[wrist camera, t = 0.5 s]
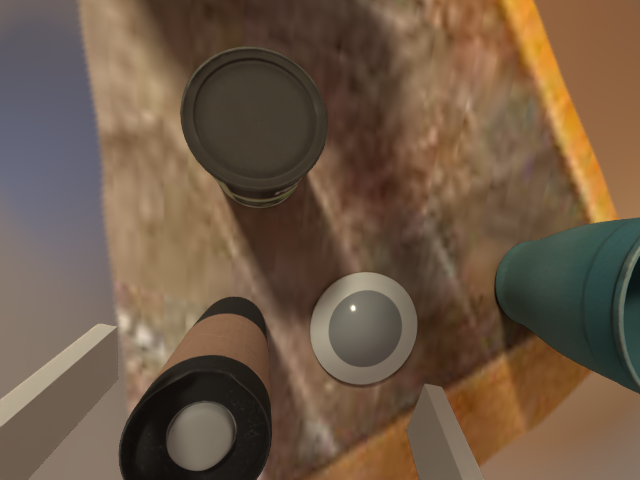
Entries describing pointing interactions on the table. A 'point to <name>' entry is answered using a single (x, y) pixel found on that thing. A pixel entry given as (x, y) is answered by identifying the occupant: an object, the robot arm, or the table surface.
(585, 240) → the flower pot
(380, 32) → the table surface
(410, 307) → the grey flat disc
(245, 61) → the coffee can
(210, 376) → the travel mug
